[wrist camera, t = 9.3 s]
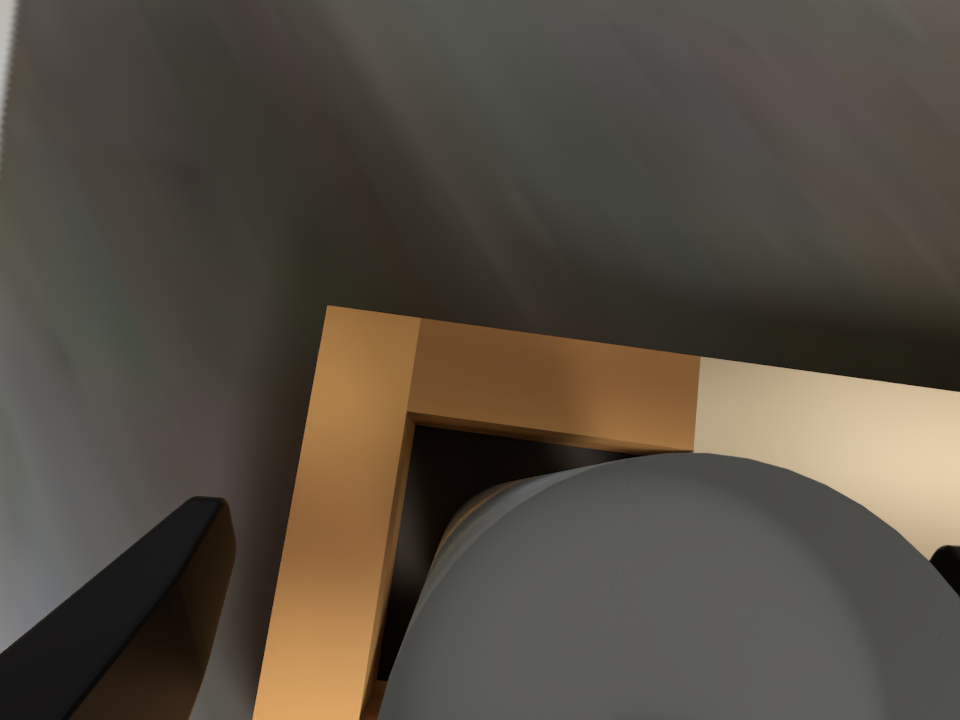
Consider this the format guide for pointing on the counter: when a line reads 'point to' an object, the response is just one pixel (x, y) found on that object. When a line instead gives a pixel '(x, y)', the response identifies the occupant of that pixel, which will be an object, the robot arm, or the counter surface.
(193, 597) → the robot arm
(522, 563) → the steel peg
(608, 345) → the rail board
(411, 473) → the counter surface
